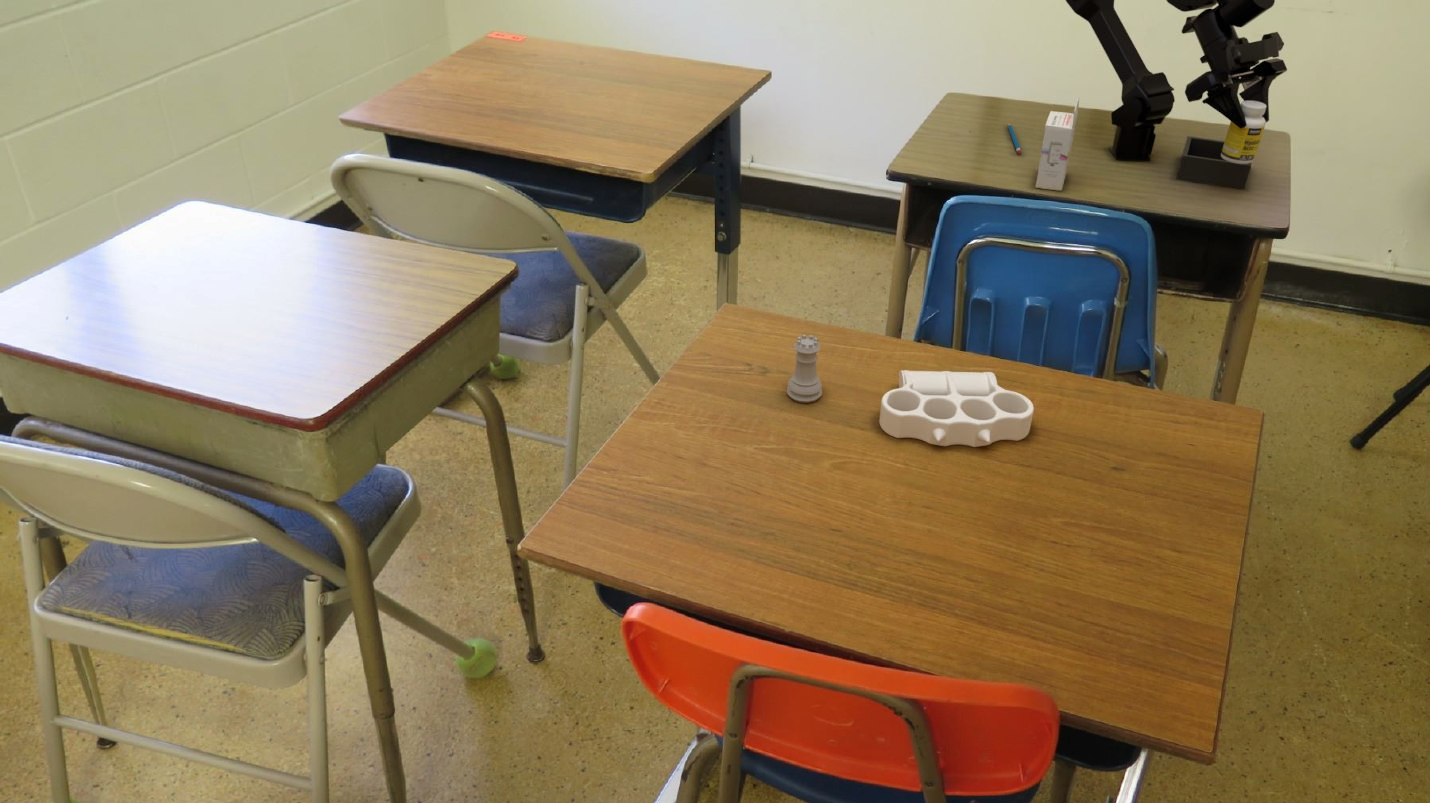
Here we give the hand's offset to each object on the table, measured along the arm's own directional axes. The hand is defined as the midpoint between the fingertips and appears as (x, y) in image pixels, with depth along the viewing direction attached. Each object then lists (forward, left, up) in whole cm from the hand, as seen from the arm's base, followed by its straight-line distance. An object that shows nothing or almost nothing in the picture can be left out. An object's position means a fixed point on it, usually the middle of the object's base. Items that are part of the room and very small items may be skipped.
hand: (1254, 124), depth 179 cm
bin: (0, +12, -13) cm, 18 cm away
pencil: (-34, +27, -13) cm, 46 cm away
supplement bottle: (-1, +1, -7) cm, 7 cm away
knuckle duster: (-58, -74, -14) cm, 95 cm away
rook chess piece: (-76, -70, -14) cm, 104 cm away
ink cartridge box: (-31, +5, -14) cm, 34 cm away
